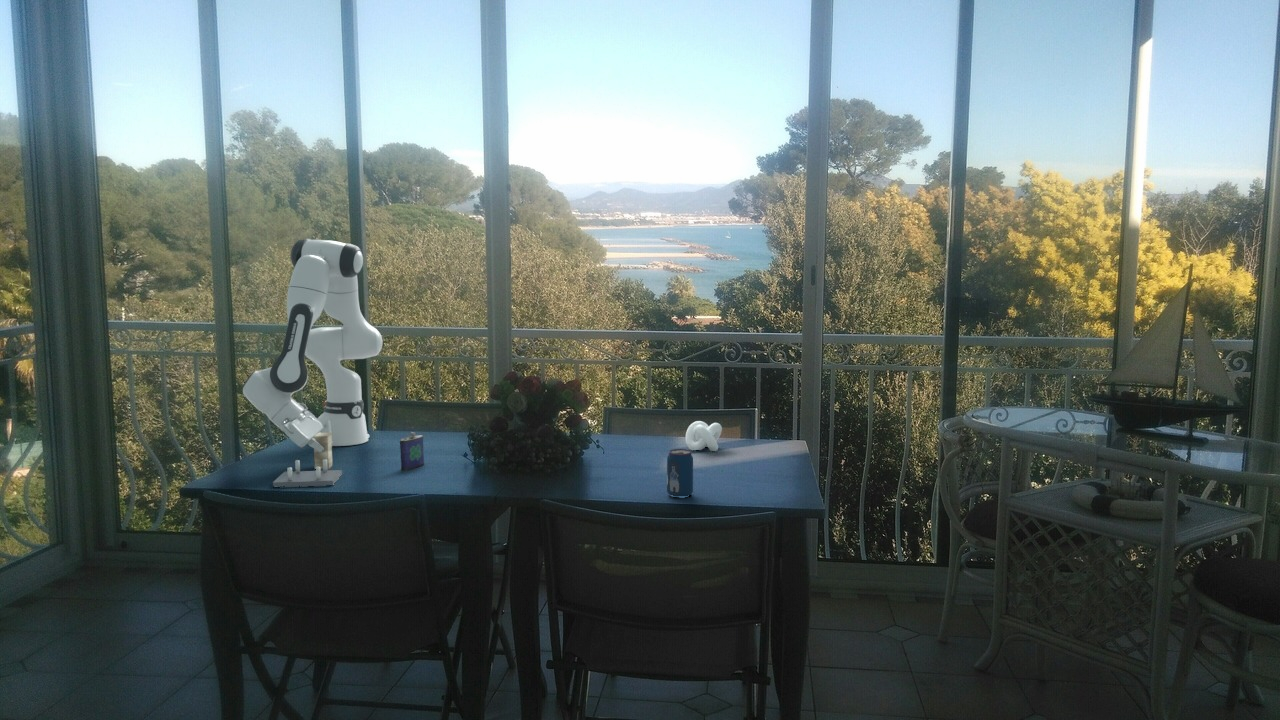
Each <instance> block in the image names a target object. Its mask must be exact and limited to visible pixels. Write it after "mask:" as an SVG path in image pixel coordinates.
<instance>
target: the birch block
mask: <svg viewBox="0 0 1280 720" xmlns="http://www.w3.org/2000/svg"><path fill="white" fill-rule="evenodd" d="M314 439H315V441H317V442H318V443H319V444H322V445H323V446H324V447H325V448H324V450H323V451H322V452H318V451H317V450H316V449H314V448H313V456H314V470H315V469H316V467H320V470H323V460H327V469H328V470H330V469H331V467H332V466H333V446H332V442H331V433H317V434H316V435H315V436H314Z"/></svg>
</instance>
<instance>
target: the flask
mask: <svg viewBox="0 0 1280 720" xmlns="http://www.w3.org/2000/svg"><path fill="white" fill-rule="evenodd" d="M409 433H410V435H409V436H406V437H403V438H401V439H400V440H399V449H400V465H401V466H400V468H401V469H400V470H401V471H410V470H414V469H416V468H419V467H421V465H422V466H424V465H425V451H424V450H425V449H424V448H425V447H424V436H423V435H421V434H420V435H419V434H418V435H416V432H413V431H410V432H409ZM409 469H410V470H409Z"/></svg>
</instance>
